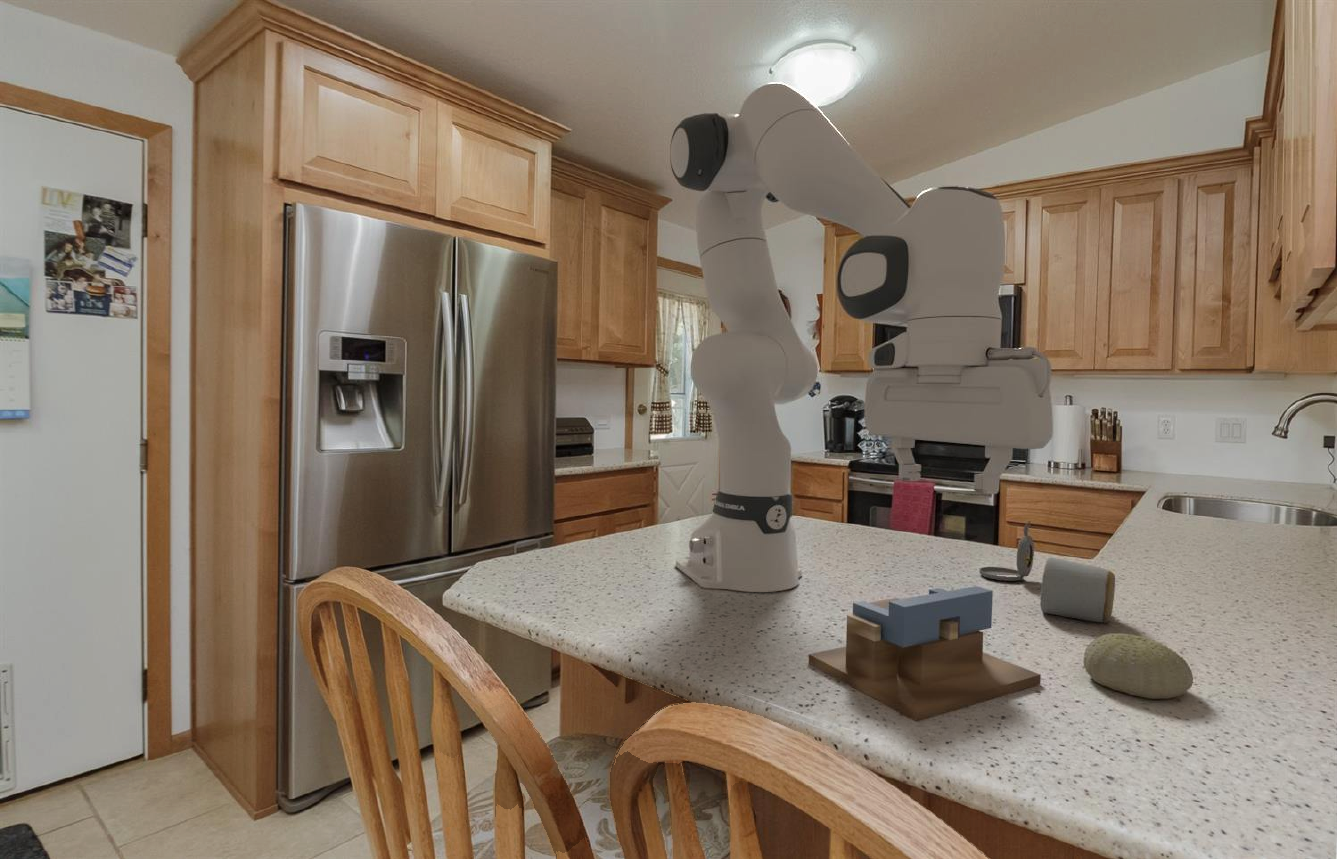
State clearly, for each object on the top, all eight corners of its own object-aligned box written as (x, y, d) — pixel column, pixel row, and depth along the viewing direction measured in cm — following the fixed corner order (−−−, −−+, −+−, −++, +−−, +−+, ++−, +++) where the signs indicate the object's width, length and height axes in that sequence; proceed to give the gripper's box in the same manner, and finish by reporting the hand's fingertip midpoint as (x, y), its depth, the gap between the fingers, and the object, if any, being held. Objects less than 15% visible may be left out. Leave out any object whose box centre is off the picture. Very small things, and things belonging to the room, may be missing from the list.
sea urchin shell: (1162, 695, 64) (1105, 617, 69) (1102, 727, 69) (1054, 653, 74) (1223, 681, 67) (1165, 607, 72) (1161, 712, 73) (1111, 642, 78)
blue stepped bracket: (852, 625, 73) (853, 588, 72) (937, 609, 79) (938, 575, 79) (903, 647, 66) (904, 607, 66) (991, 627, 73) (992, 590, 72)
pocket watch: (973, 571, 117) (976, 513, 116) (1026, 574, 115) (1028, 515, 115) (989, 584, 109) (991, 522, 108) (1046, 587, 107) (1048, 524, 107)
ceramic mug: (1110, 630, 87) (1113, 571, 87) (1038, 618, 92) (1041, 561, 92) (1115, 612, 96) (1117, 557, 96) (1049, 601, 101) (1051, 549, 100)
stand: (808, 663, 75) (809, 603, 75) (924, 637, 84) (925, 584, 83) (916, 720, 62) (918, 649, 62) (1040, 684, 70) (1042, 620, 70)
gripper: (1072, 347, 61) (1064, 500, 62) (898, 355, 79) (893, 473, 80) (1028, 343, 58) (1019, 504, 59) (857, 352, 76) (852, 475, 77)
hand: (945, 486), depth 70 cm, fingers open, 8 cm apart
